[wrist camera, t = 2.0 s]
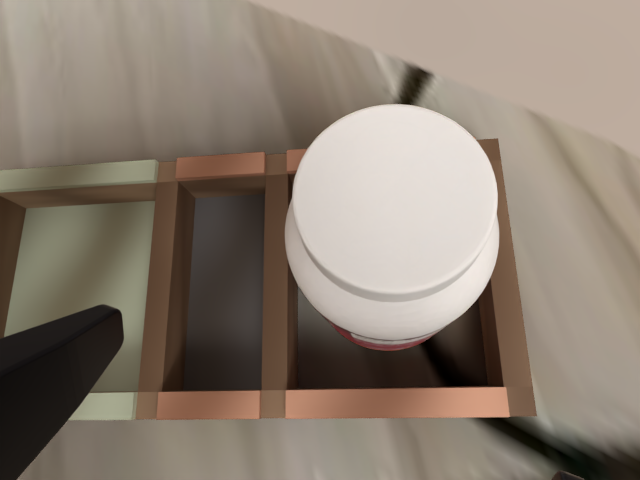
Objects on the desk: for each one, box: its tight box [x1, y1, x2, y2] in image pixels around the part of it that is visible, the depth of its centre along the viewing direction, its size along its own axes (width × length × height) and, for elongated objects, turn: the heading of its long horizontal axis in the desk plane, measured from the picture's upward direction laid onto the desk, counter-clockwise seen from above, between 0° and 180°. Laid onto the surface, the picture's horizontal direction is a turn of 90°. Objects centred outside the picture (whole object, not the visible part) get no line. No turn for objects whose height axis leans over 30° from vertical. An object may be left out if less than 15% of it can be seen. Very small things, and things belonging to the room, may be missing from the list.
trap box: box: [0, 137, 537, 420], centre depth 20 cm, size 24×11×3 cm, turn 91°
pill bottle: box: [285, 104, 499, 351], centre depth 16 cm, size 6×6×11 cm
